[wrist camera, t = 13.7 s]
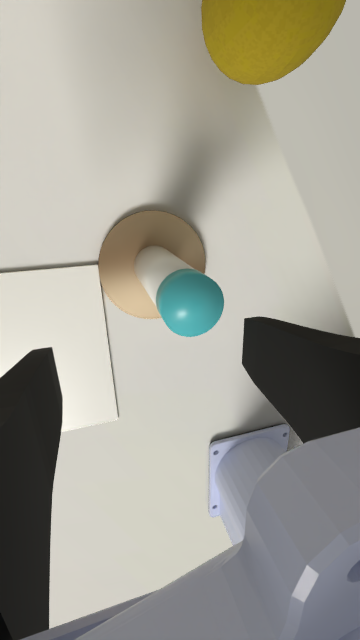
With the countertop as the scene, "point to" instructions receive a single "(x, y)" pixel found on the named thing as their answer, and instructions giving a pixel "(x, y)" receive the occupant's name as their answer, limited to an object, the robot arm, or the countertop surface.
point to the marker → (179, 291)
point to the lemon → (265, 35)
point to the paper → (61, 336)
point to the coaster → (125, 248)
